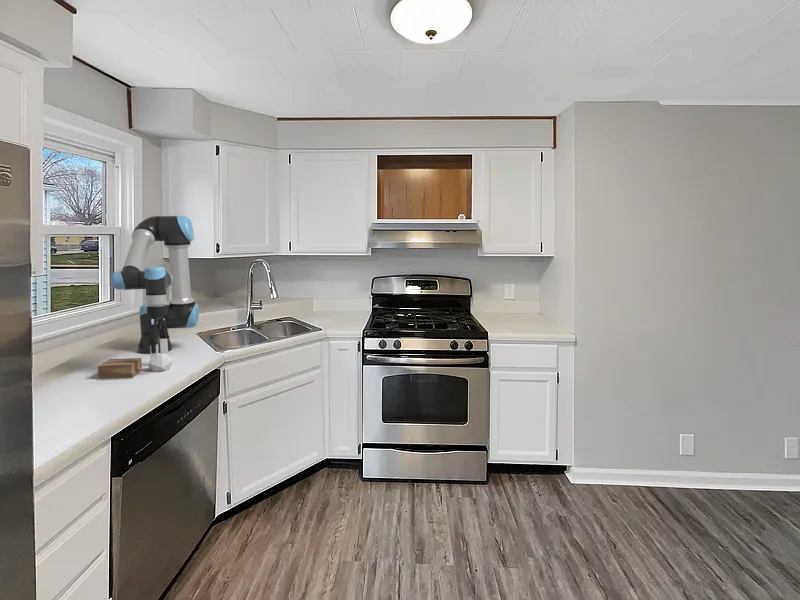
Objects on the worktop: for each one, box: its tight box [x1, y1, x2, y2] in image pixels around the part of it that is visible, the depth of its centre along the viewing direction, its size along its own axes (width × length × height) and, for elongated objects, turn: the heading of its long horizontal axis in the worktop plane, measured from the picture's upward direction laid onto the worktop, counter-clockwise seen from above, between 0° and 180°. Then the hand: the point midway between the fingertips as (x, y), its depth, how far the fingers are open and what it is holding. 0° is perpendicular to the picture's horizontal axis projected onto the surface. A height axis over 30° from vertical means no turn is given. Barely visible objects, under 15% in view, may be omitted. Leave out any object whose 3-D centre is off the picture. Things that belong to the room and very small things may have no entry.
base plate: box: [95, 368, 145, 382], centre depth 215 cm, size 16×13×1 cm
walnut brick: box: [97, 357, 143, 379], centre depth 215 cm, size 12×12×5 cm
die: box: [148, 352, 173, 373], centre depth 222 cm, size 8×9×10 cm
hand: (159, 357), depth 221 cm, fingers open, 13 cm apart
